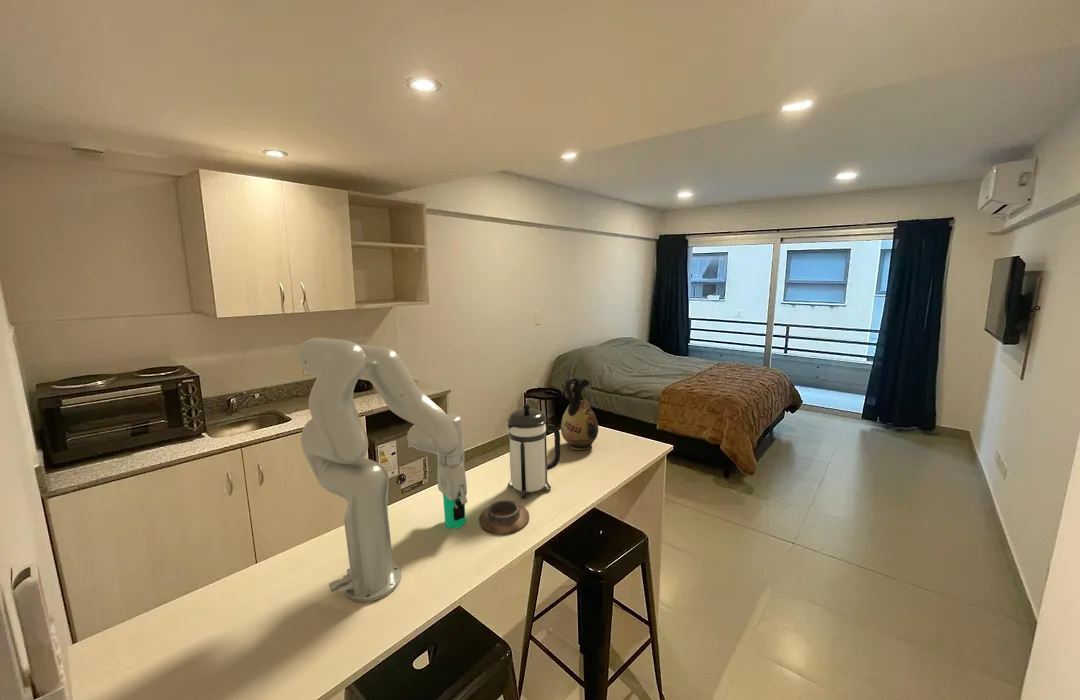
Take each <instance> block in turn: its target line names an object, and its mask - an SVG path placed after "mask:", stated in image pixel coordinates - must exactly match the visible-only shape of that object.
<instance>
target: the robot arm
mask: <svg viewBox="0 0 1080 700" xmlns="http://www.w3.org/2000/svg"><path fill="white" fill-rule="evenodd" d="M296 361H297V364H298V366H299V368H301V369H302V370H303V372H305V373H307V374H309V375H310V376H311V375H312V376H314V377H316V379H315V381H314V383H313V386H312V388H311V390H310V393H309V397H308V409H309V413H310V416H311V419H309V420H308V421H307V422H306V424H305V425H304V427H303V428H302V432H301V435H300V444H301V448H302V450H303V453H304V455H305V458H306V460H307V462H308V464H309V465H310V469H311V470H312V472H313V475H314V476H315V478H316V480H317V481H318V483H319V485H320V486H321V487H322V489H324V490H326V491H327V492H329V493H332V494H334V495H337V496H339V497H341V498H343V499H345V500H346V502H347V509H346V510H345V514H344V519H343V520H344V531H345V538H346V547H347V553H348V562H349V568H347V569H346V573H347V574H345V575H343V576H342V578H339V579H336V580H334V581H331V582H329V583H328V586H329V591H330V593H332V592H334V591H337V592H338V593H337V594H338V595H341V594H343V593H345V595H346V596H347V598H349V599H350V600H352V601H354V602H358V603H359V602H360V603H368V602H373V601H377V600H379V599H382V598H384V597H386V596H387V595H389V594H391V592H393V591H394V590H395V589H396V588H397V587H398V585H399V584H400V582H401V580H402V573H401V569H400V567H399V566H398V565H397V564H395V563H394V560H393V559H394V558H393V551H392V550H393V549H392V540H391V532H390V531H391V530H390V528H391V527H390V519H389V510H388V509H389V508H388V496H389V495H388V494H389V486H390V476H389V473H388V471H387V469H386V468H385V467H384V466H383V465H382V464H381V463H380V462H376V461H375V460H372V459H369V458H366V457H365V456H366V455H367V452H368V451H369V450H368V449H369V440H368V435H367V433H366V430H365V427H364V425H363V423H362V420H361V419H360V415H359V412H358V410H357V407H356V405H355V401H354V390H355V387H356V384H357V383H358V380H363V381H368V382H370V383H371V384H372V386H373V387H374V388H375V390H376V392H378V394H379V396H380V397H381V399H382V400H383V401H384V403H385V405H386V406H387V407H388V409H389V410H390V411H391V412H392V413H394V415H396V416H398V417H399V418H401V419H403V420H405V421H407V422H408V423H410V424H413V425H412V426H411V427H410V428H409V430H408V431H407V435H406V438H407V443H408V444H409V446H410V447H412V448H414V449H415V450H419V451H423V452H426V453H430V454H434V455H437V456H436V457H437V488H438V491H440V492H441V494H443V493H444V494H445V495H446V497H447V498H449V499H450V500H452V501H454V507H455V508H453V512H454V520H455V521H457V520H459V519H461V518H464V517H465V518H466V512H465V513H464V506H465V505H466V503H468V499H467V492H468V491H467V490H468V489H467V477H466V470H465V466H464V463H465V461H466V460H465V449H464V448H465V447H464V446H465V445H464V431H463V429H464V427H463V420H462V417H461V416H460V415H459V414H456V413H446V411H444V410H443V409H442V408H441V407H440V406H439V405H437V403H435V402H434V401H433V400H432V399H431V398H430V397H428V395H426V394H424V393H423V392H422V390H421V389H420V387H418V385H417V384H416V382H415V380H414V378H413V377H412V375H411V373H410V372H409V370H408V368H407V367H406V365H405V363H404V362H403V360H402V359H401V357H400V355H399V354H398V353H397V352H396V351H395V350H394V349H392V348H389V347H385V346H377V345H370V344H369V345H368V344H359V343H356V342H353V341H349V340H345V339H336V338H327V337H312V338H308V339H307V340H306V341H304V342H302V344H301V345H300V346H299V348H298V350H297V353H296ZM458 494H459V496H458ZM457 496H458V497H457ZM457 499H461V500H460V501H459V502H458V503H457Z"/></svg>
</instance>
